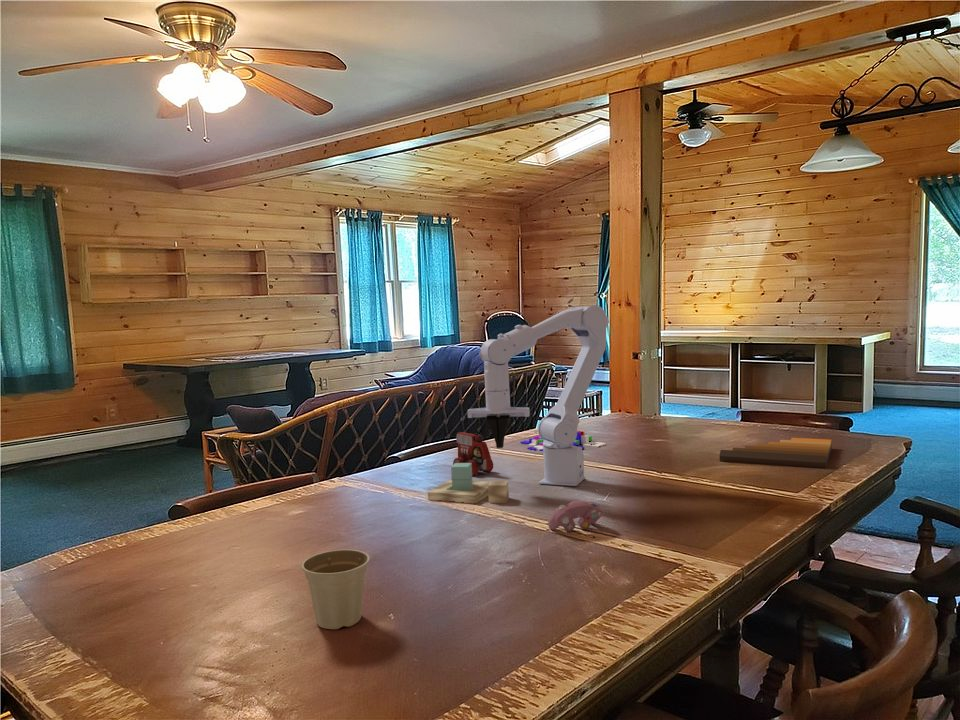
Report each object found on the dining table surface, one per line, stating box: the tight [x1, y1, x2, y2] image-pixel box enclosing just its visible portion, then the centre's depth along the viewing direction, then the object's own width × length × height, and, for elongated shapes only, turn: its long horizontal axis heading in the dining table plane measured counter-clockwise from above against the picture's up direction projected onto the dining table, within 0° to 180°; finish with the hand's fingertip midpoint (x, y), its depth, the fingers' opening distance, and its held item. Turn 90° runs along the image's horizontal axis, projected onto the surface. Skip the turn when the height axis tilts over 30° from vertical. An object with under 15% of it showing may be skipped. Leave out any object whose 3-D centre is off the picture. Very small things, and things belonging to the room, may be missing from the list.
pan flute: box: [719, 437, 833, 469], centre depth 183 cm, size 25×3×25 cm
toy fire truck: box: [452, 431, 494, 477], centre depth 181 cm, size 7×12×10 cm, turn 40°
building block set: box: [519, 430, 607, 452], centre depth 211 cm, size 25×20×4 cm
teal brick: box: [450, 463, 473, 491], centre depth 159 cm, size 4×4×6 cm
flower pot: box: [301, 549, 371, 630], centre depth 96 cm, size 9×9×9 cm
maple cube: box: [487, 480, 510, 504], centre depth 153 cm, size 4×4×4 cm
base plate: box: [427, 478, 490, 504], centre depth 159 cm, size 12×12×2 cm
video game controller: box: [547, 500, 603, 532], centre depth 130 cm, size 10×5×7 cm, turn 107°
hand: (500, 447), depth 161 cm, fingers closed
